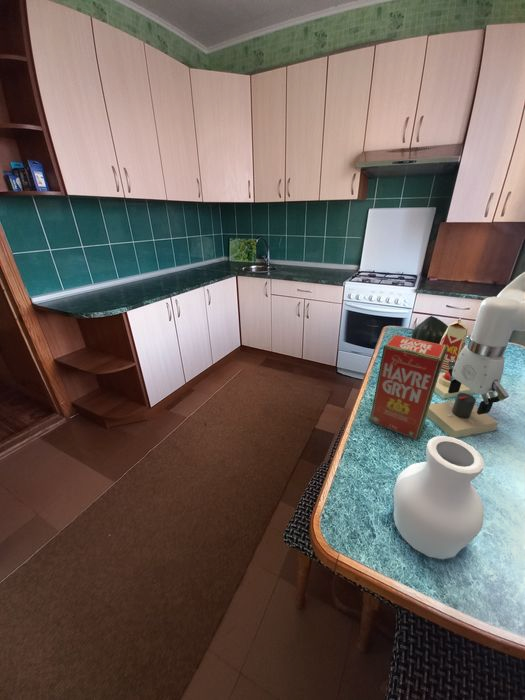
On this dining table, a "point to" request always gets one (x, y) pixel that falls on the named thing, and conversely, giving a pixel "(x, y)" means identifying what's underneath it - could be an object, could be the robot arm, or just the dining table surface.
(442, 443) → the vase
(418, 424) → the food packaging
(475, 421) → the panel
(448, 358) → the milk carton
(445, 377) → the power button
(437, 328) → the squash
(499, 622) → the dining table surface
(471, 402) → the timer dial
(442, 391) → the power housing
